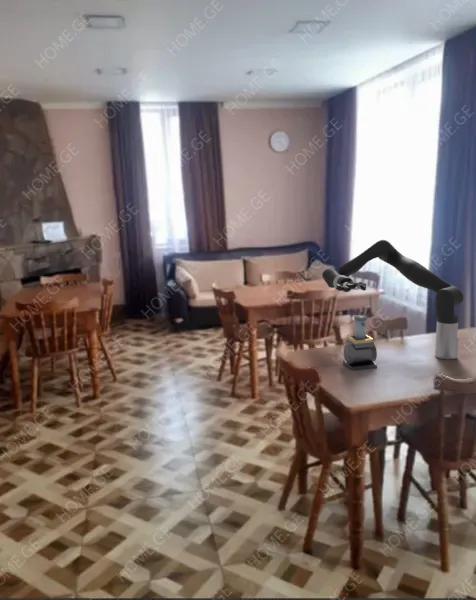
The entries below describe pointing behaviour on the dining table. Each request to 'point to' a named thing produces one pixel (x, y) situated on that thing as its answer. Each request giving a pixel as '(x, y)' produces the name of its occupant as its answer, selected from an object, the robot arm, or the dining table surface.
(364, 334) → the pump
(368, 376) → the dining table surface
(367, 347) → the motor
